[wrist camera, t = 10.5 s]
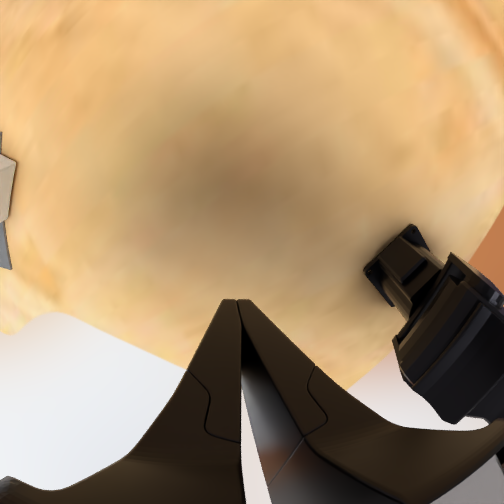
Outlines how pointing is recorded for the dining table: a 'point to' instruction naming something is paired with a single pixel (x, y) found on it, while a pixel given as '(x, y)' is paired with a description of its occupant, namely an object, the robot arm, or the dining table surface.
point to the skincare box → (5, 185)
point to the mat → (4, 240)
